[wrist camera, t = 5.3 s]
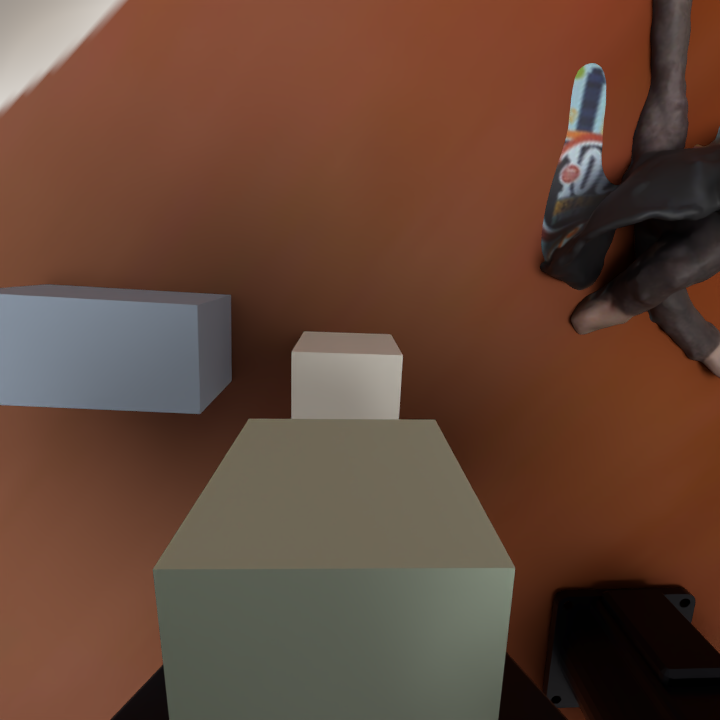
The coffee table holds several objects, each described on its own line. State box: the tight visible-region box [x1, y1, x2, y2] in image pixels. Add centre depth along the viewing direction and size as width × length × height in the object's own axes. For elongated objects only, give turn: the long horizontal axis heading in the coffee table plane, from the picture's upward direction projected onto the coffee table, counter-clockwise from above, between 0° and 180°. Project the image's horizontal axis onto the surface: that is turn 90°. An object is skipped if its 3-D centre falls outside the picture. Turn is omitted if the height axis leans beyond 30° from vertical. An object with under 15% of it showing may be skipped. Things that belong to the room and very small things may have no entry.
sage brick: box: [153, 419, 515, 720], centre depth 7 cm, size 7×4×4 cm, turn 179°
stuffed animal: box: [540, 0, 720, 378], centre depth 16 cm, size 12×10×12 cm
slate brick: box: [0, 284, 232, 414], centre depth 15 cm, size 7×4×4 cm, turn 87°
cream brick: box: [291, 331, 403, 419], centre depth 16 cm, size 7×4×4 cm, turn 178°
